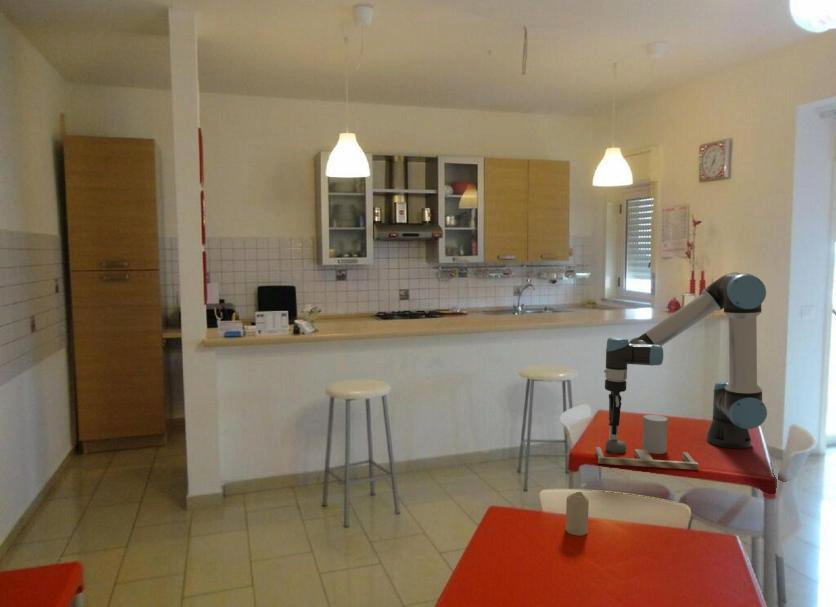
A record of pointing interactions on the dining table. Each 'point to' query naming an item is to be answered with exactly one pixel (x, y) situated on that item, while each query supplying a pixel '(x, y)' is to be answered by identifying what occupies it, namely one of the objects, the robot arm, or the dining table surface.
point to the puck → (615, 446)
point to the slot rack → (647, 460)
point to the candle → (577, 514)
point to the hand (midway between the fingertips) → (613, 442)
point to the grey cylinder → (654, 434)
